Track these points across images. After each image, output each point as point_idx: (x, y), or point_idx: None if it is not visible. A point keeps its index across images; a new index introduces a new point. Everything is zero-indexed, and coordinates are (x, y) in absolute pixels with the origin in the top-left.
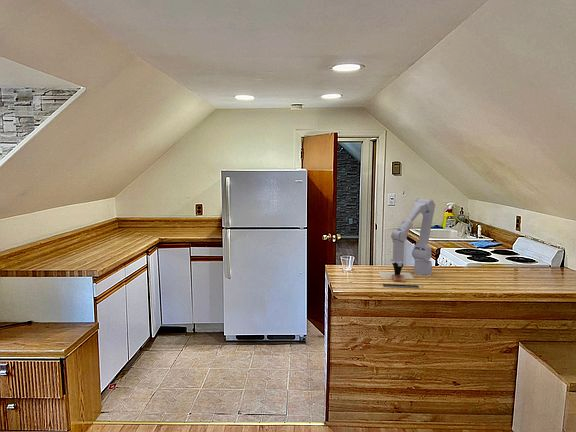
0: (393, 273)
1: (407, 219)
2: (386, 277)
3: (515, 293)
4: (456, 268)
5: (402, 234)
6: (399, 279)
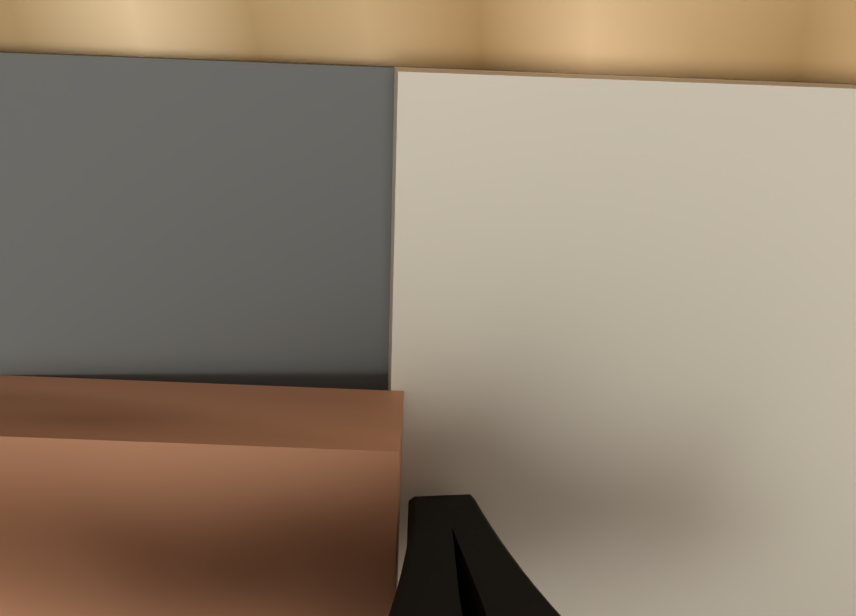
0: (819, 466)
1: None
2: (427, 256)
3: None
4: None
5: None
6: (21, 564)
